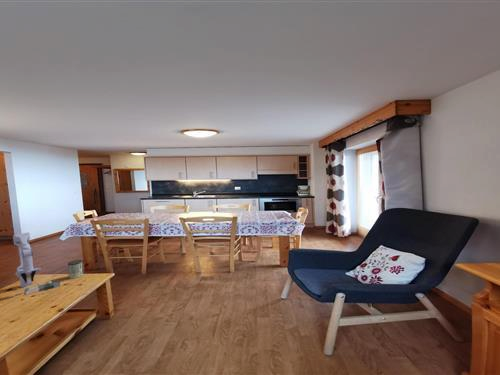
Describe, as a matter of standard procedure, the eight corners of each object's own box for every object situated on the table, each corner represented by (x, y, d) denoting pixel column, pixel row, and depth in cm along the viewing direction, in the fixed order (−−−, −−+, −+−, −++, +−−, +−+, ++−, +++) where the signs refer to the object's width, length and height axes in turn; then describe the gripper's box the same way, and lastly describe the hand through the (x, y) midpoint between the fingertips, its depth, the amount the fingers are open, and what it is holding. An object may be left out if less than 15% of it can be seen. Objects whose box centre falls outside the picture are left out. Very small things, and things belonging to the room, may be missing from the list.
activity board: (25, 289, 194) (25, 288, 194) (60, 281, 208) (60, 280, 208) (23, 296, 183) (23, 295, 183) (60, 287, 196) (60, 286, 196)
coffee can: (66, 278, 214) (65, 262, 214) (80, 274, 223) (79, 259, 222) (71, 280, 208) (70, 264, 208) (84, 276, 217) (83, 261, 216)
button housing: (44, 287, 195) (44, 284, 195) (54, 285, 198) (53, 282, 198) (44, 290, 190) (43, 287, 190) (53, 288, 194) (53, 285, 194)
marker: (27, 284, 188) (26, 274, 188) (32, 283, 190) (31, 273, 190) (26, 285, 186) (25, 275, 185) (32, 284, 188) (31, 274, 187)
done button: (46, 283, 194) (45, 281, 194) (51, 282, 197) (51, 280, 197) (45, 285, 192) (45, 283, 191) (51, 283, 194) (51, 281, 194)
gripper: (14, 268, 180) (15, 286, 180) (39, 263, 189) (41, 280, 189) (15, 265, 185) (16, 283, 186) (40, 261, 194) (41, 277, 195)
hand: (29, 281), depth 188 cm, fingers closed on marker, 3 cm apart
